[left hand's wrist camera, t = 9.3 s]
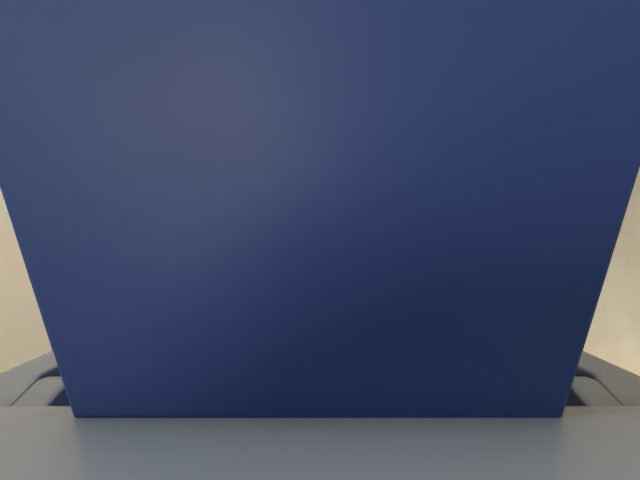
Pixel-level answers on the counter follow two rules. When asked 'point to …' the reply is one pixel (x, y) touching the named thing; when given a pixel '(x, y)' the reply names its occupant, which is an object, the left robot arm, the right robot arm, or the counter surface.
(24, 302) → the counter surface
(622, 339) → the counter surface
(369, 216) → the box
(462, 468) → the left robot arm
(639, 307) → the counter surface
